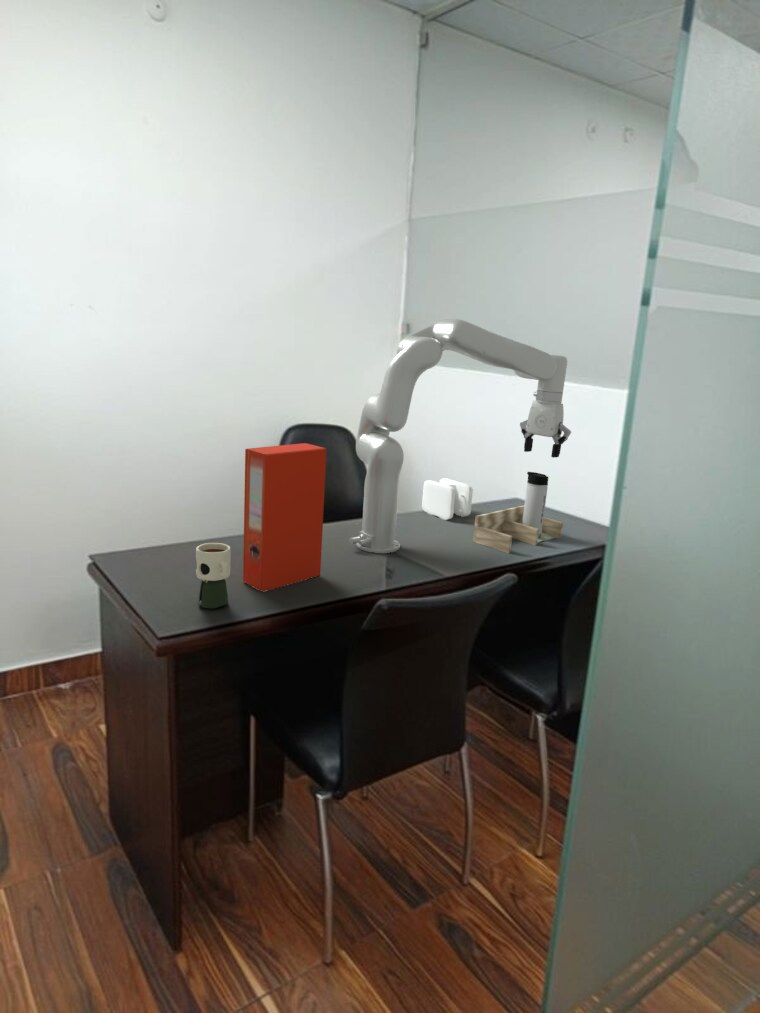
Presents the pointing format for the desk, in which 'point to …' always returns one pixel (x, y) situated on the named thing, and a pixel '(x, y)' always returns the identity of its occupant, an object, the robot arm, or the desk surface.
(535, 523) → the travel mug
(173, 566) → the desk surface
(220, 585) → the character mug
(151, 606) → the desk surface
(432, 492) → the cable organizer
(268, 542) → the file binder
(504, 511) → the desk dock
